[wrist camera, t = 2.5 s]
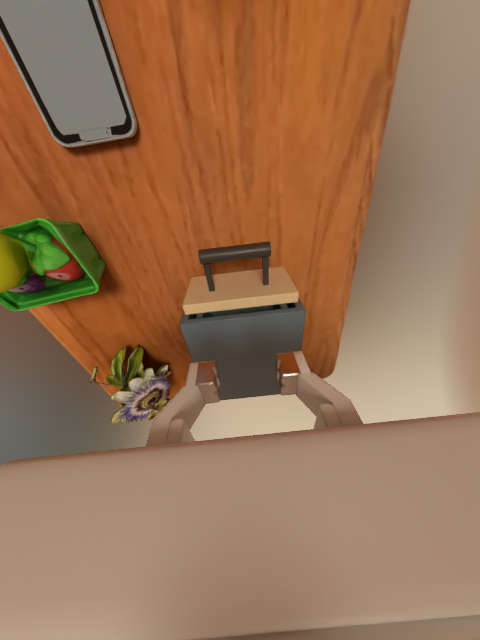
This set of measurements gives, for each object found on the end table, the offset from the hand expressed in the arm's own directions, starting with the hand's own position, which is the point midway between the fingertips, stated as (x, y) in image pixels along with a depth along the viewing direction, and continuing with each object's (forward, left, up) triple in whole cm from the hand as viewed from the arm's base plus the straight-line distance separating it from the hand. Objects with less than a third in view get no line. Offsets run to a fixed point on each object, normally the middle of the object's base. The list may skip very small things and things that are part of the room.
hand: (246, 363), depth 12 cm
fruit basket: (+21, -4, -17) cm, 27 cm away
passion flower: (+19, +18, -17) cm, 32 cm away
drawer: (0, +6, -16) cm, 17 cm away
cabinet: (0, +10, -17) cm, 20 cm away
